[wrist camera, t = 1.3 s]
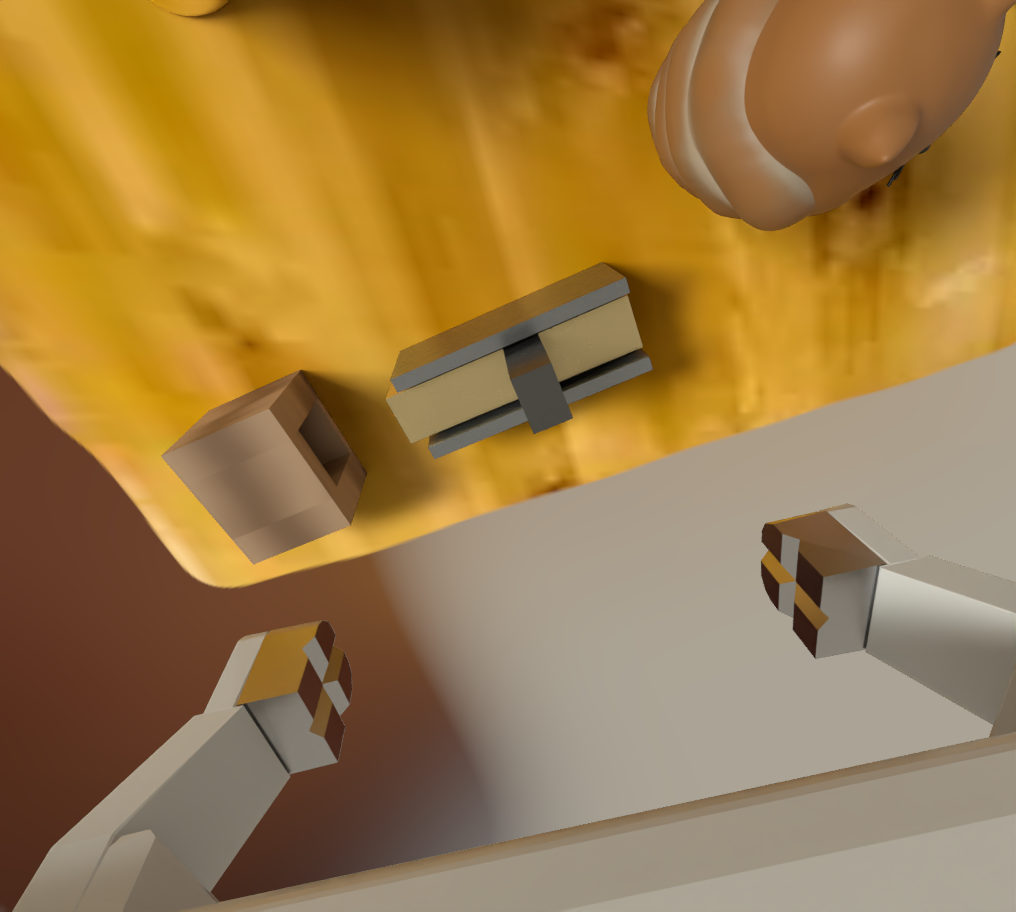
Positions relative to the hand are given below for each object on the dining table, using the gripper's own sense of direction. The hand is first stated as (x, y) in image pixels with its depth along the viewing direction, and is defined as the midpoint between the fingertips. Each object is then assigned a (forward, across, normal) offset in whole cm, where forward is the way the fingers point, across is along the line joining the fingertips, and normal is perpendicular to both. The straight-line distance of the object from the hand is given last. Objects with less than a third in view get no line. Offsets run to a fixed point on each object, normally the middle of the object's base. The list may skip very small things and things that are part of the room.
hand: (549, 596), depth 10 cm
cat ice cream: (+24, -12, -8) cm, 28 cm away
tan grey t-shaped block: (+23, -1, +3) cm, 23 cm away
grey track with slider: (+24, -2, +2) cm, 25 cm away
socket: (+25, +14, +6) cm, 29 cm away
